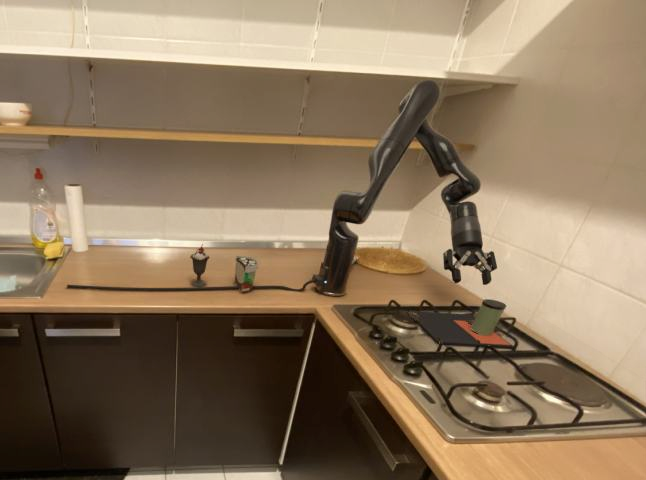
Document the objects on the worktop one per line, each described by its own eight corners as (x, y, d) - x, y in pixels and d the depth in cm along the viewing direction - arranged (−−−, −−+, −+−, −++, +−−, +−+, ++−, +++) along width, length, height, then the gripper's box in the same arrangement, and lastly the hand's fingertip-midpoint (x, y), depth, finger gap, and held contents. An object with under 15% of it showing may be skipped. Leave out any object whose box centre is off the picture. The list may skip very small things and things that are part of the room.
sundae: (199, 289, 133) (202, 246, 126) (185, 283, 137) (187, 242, 129) (211, 284, 137) (214, 242, 130) (197, 279, 141) (199, 238, 134)
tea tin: (476, 335, 108) (490, 306, 104) (465, 326, 113) (478, 298, 108) (496, 336, 108) (511, 307, 104) (484, 327, 113) (498, 299, 108)
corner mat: (437, 344, 105) (439, 341, 104) (406, 313, 122) (407, 310, 122) (512, 348, 104) (514, 345, 104) (470, 316, 122) (471, 314, 121)
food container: (260, 294, 131) (264, 266, 126) (242, 295, 130) (246, 266, 125) (249, 281, 142) (252, 254, 136) (233, 281, 141) (236, 255, 136)
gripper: (480, 242, 122) (487, 289, 118) (435, 240, 123) (440, 286, 119) (498, 229, 115) (506, 279, 111) (450, 227, 116) (456, 276, 111)
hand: (472, 283), depth 115 cm, fingers open, 8 cm apart
